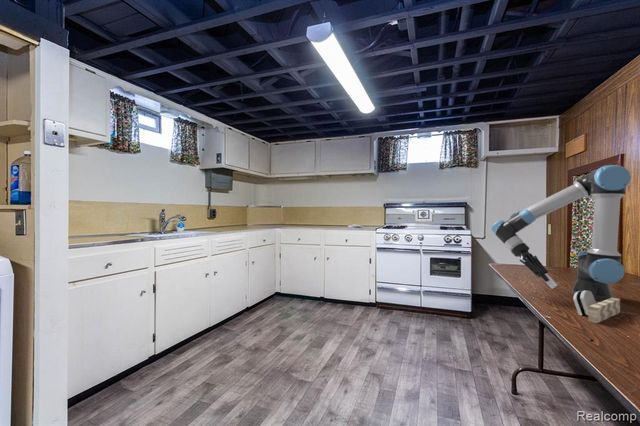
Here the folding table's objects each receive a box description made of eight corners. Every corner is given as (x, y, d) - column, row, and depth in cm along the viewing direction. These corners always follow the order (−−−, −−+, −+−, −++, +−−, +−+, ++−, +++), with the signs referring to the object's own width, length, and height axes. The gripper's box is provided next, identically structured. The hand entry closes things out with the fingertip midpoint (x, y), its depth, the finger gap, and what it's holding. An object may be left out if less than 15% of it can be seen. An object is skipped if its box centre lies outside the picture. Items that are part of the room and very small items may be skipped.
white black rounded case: (594, 318, 120) (584, 293, 123) (580, 319, 124) (570, 294, 127) (603, 310, 131) (593, 287, 133) (589, 311, 134) (580, 288, 137)
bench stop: (611, 311, 130) (612, 297, 130) (619, 312, 128) (620, 298, 128) (588, 321, 117) (588, 306, 117) (596, 323, 115) (597, 308, 115)
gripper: (517, 250, 158) (554, 289, 144) (504, 251, 151) (541, 292, 137) (529, 241, 153) (568, 281, 139) (516, 242, 147) (555, 284, 133)
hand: (554, 286), depth 138 cm, fingers closed
